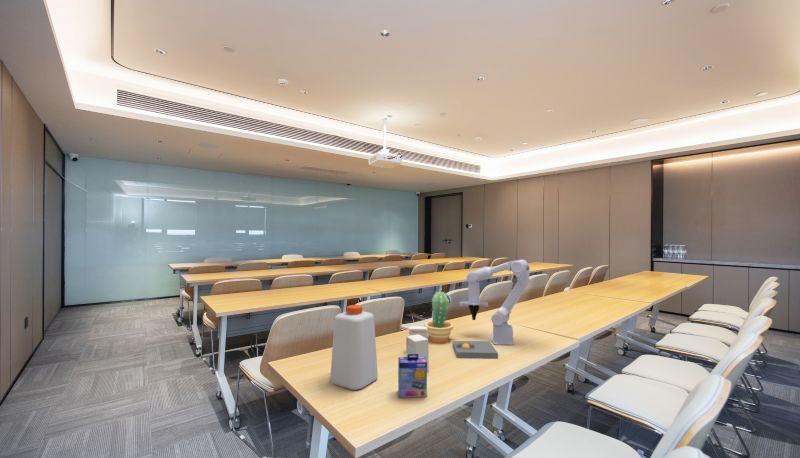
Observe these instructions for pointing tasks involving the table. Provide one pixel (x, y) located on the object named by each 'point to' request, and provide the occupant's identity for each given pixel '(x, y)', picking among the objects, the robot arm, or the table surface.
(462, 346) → the ball
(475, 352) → the hole board
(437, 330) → the potted cactus
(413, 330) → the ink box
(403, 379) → the ink cartridge box
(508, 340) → the robot arm
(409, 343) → the small box
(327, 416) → the table surface
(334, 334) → the plastic bottle
